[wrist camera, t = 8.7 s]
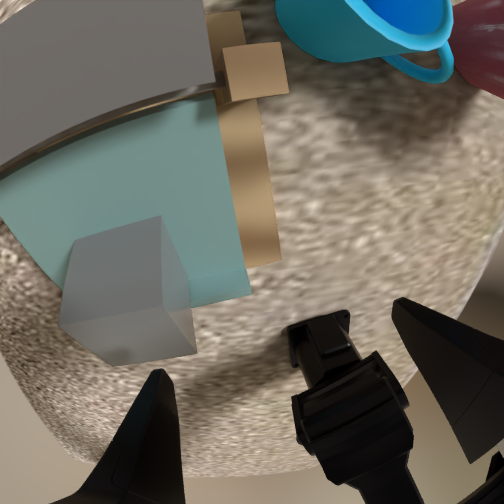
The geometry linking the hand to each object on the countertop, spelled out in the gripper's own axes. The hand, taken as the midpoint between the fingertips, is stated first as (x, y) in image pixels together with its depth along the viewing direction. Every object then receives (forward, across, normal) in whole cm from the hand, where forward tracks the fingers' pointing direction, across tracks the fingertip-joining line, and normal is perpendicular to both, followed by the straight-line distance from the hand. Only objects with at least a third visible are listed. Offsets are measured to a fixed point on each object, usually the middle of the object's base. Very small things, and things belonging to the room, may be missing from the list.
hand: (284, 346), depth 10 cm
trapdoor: (+8, +6, -7) cm, 12 cm away
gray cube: (+7, +6, -2) cm, 10 cm away
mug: (+12, -11, -13) cm, 21 cm away
